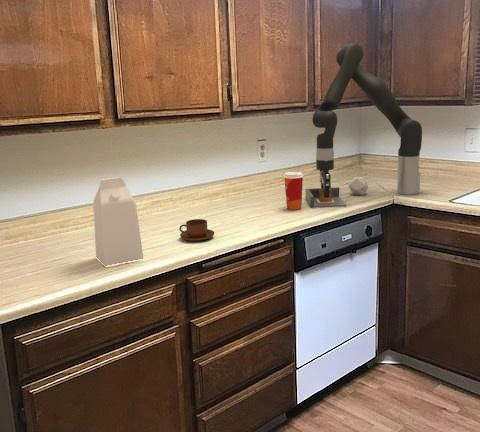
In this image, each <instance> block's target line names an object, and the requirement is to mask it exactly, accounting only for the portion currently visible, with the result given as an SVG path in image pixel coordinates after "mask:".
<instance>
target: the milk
mask: <svg viewBox="0 0 480 432" xmlns="http://www.w3.org/2000/svg"><path fill="white" fill-rule="evenodd" d="M92 203H93V204H92V206H93V209H92V210H93V223H94V239H95V240H94V244H95V258H96V257H97V258H98V259H99V260H100V261H101V262H102V263H103V264H104V265H105V266H107V265H112V264H117V263H123V262H128V261H133V260H138V259H144V254H143V245H142V239H141V232H140V225H139V217H138V210H137V204H136V201H135V199H134V196H133V195H132V194H131V191H130V190H129V187H127V185H126V183H125V181H124V179H123V178H122V177H121V176H117V177H109V178H102V179H101V180H100V182H99V187H98V189H97V192H96V194H95V196H94V198H93V202H92Z"/></svg>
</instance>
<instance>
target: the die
mask: <svg viewBox="0 0 480 432" xmlns="http://www.w3.org/2000/svg"><path fill="white" fill-rule="evenodd" d="M366 179H367V178H366V177H365V176H364V177H360V176H359V177H358V176H357V177H356V176H354V177H353V178H352V179H351V180H350V182H349V184H348V187H349V190H350V192H351V194H352V195H354V196H364V195H365V193H366V192H367V191H368V189H369V185H368V182H367V180H366Z"/></svg>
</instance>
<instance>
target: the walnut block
mask: <svg viewBox="0 0 480 432" xmlns="http://www.w3.org/2000/svg"><path fill="white" fill-rule="evenodd" d="M318 188H319V201H320V202H332V190H331V189H329V198H325V197H324V188H321V187H318Z"/></svg>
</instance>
